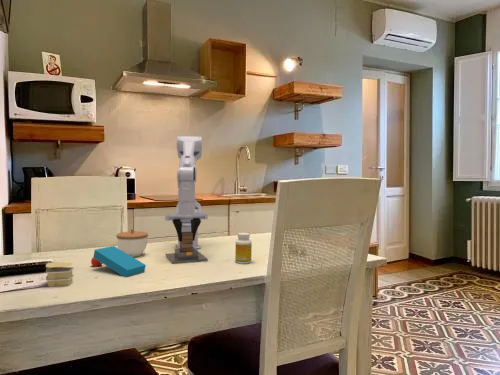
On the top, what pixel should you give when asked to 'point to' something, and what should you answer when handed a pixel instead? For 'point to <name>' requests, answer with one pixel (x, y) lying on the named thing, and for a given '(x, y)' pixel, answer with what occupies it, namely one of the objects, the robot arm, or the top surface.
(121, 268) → the lever
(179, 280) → the top surface
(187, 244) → the column
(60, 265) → the stacked layers on plate
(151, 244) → the top surface
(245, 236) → the supplement bottle
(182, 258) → the socket
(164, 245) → the top surface
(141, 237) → the lidded jar
